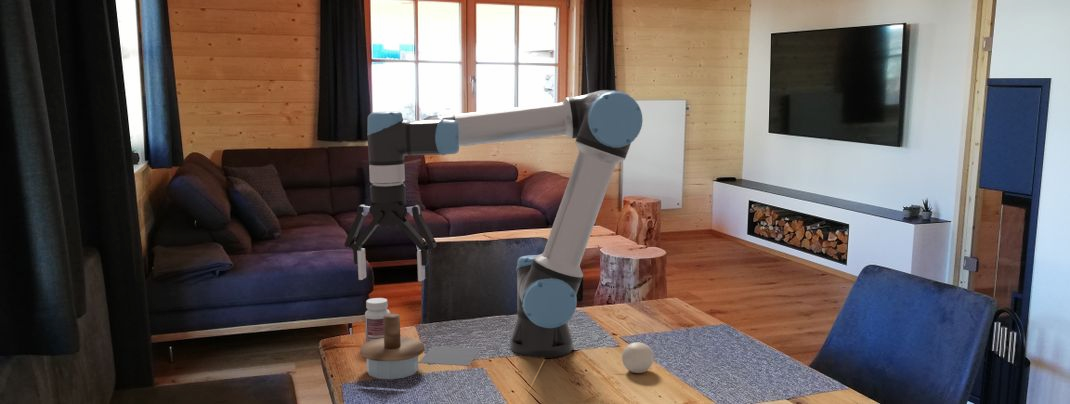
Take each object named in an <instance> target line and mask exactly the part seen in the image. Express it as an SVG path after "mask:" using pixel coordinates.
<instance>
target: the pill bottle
mask: <svg viewBox="0 0 1070 404" xmlns="http://www.w3.org/2000/svg"><path fill="white" fill-rule="evenodd" d="M388 303H389V302H388V298H384V297H375V298H374V297H372V298H368V299H367V300H366V301H365V305H366V306H365V308H366V309H367V310H366V311H365V313H364V326H365V327H364V329H365V330H364V331H365V334H364V336H365V343H366V342H369V341H372V340H375V339H380V338H384V321H383V316H384V315H387V314H391V312H390V310H389V309H387V308H388V307H389V304H388Z"/></svg>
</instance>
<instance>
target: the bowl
mask: <svg viewBox="0 0 1070 404" xmlns="http://www.w3.org/2000/svg"><path fill="white" fill-rule="evenodd" d="M418 362H419V356H417V357H414V358H411V359H407V360H401V361H374V360H370V359H367V358H366V372H367V374H368V376H370V377H373V378H375V379H379V380H397V379H398V380H399V379H405V378H408V377H411V376H414V375H415V374H416V373H417V372H418V371H419V363H418Z"/></svg>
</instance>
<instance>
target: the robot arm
mask: <svg viewBox="0 0 1070 404" xmlns="http://www.w3.org/2000/svg"><path fill="white" fill-rule="evenodd" d="M643 119H644V117H643V113H642V110H641V107H640V105H639V103H638V102H637V101H636V100H635V99H634V98H633V97H632V96H631V95H629V94H628V93H626V92H624V91H620V90H616V89H613V90H611V89H601V90H597V91H594V92H589V93H587V94H583V95H577V96H570V97H569V96H568V97H565V98H564V100H562V101H561V102H555V103H554V102H553V103H546V104H545V103H544V104H537V105H536V104H535V105H527V106H519V107H510V108H509V107H508V108H502V109H491V110H490V109H489V110H485V111H484V110H483V111H474V112H473V111H472V112H465V113H457V114H446V115H430V116H429V115H428V116H427V117H426V118H424V119H421V120H407V119H404V117H403V113H402V112H400V111H374V112H371V113H369V115H368V116H367V133H366V134H367V135H366V136H367V149H368V150H367V151H368V165H369V166H368V168H369V171H368V172H369V182H370V183H371V185H370V186H369V190H370V205H369V206H368V205H366V204H359V205H358V206H357V207H356V215H355V218H354V221H353V223H352V226H351V227H350V230H349V232H348V235H347V237H346V240H345V242H344V245H343V246H344V247H345V248H350V249H352V251H353V253H352V254H353V263H354V265H357V267H358V268H357V272H358V273H357V275H358V280H359V281H362V280H364V279H366V278H367V265H366V263H367V260H366V248H363V245H365V243H366V242H367V241H368V239H369V238H370V236H371V235H372V234H373V232H375V230H376V229H377V227H379V226H380V227H392V228H395V227H397V226H398V227H399V228H400V229H402V230H403V231H404V232H405V234H406V235H407V236H408V237H409V239H410V240H411V241H412V242H413V244H414V245H416V247H417V248H418V251H416V258H417V259H416V262H417V281H418V282H423V281H424V280H426V269H425V268H426V266H428V265H429V261H430V260H429V259H430V257H429V256H430V255H429V252H430V251H429V250H432V249H434V248H436V247H437V241H436V240H435V238H434V235H433V233H432V232H431V230H430V227H429V226H428V225H427V223H426V220H425V218H424V216H423V214H422V207H421V205H419V204H416V205H414V206H408V205H407V198H406V197H407V196H406V193H407V192H406V185H405V183H404V182H405V181H406V173H405V156H440V155H441V156H446V155H455V154H457V153H459V151H460V147H467V146H476V145H486V144H494V143H504V142H513V141H523V140H531V139H533V140H534V139H541V138H542V139H543V138H550V137H558V136H566V137H567V138H568V139H570V140H571V139H575V141H574V142H575V144H576V147H577V148H578V154H577V156H576V159H575V162H574V164H573V167H572V171H571V173H570V176H569V179H568V182H567V185H566V187H565V190H564V192H563V193H564V194H563V196H562V199H561V201H560V204H559V208H558V210H557V213H556V215H555V216H556V217H555V218H554V221H553V224H552V226H551V229H550V232H549V235H548V239H547V241H546V244H545V247H544V250H543V252H542V253H541V254H529V255H523V256H520V257H518V259H517V262H516V264H517V265H516V268H515V269H516V273H517V276H516V277H517V280H516V281H517V283H516V284H517V285H516V286H517V287H516V288H517V292H516V293H517V295H516V296H517V297H516V298H517V301H516V302H517V306H516V307H517V310H516V311H517V313H516V314H517V318H516V321H515V324H514V328H513V331H512V334H511V336H510V340H509V341H510V343H509V344H510V346H509V347H510V350H511V351H512V352H513V353H515V354H518V355H521V356H524V357H531V358H544V359H551V358H552V359H554V358H559V357H562V356H563V357H564V356H566V355H568V354H570V353H572V351H573V349H574V348H573V346H574V345H573V343H574V341H573V337H572V334H571V330H570V327H569V324H568V322H569V321H570V320H571V319H572V318H573V316H574V314H575V312H576V309H577V303H578V299H577V298H578V297H577V294H578V291H579V289H580V285H581V284H582V283H581V282H582V280H583V277H584V273H583V271H582V269H581V266H580V265H581V262H582V259H583V256H584V254H585V251H586V248H587V246H588V243H589V240H590V238H591V234H592V232H593V228H594V226H595V223H596V221H597V217H598V215H599V212H600V209H601V207H602V204H603V201H604V198H605V195H606V193H607V189H608V188H609V184H610V181H611V179H612V177H613V174H614V171H615V168H616V165H617V164H619V163H621V162H623V161H625V160H626V157H627V155H628V153H629V150H630V146H631V144H632V143H633V142H634V141H635V140H636V138H637V137H638V136H639V135H640V132H641V131H642V127H643V122H644V121H643ZM369 213H370V215H371V216H372V220H371V221H370V223H369V225H367V227H366V228H365V229H364V230H363V232H362V234H361V235H360V236H359V237H358V234H359V232H360V231H361V228H362V225H363V223H364V221H365V219H366V216H368V214H369ZM408 214H409V215H410V216H411V217H413V220H414V223H415V224H416V226H417V228H418V230H419V232H420V234H421V235H422V236H421V235H420V234H419V232H418V231H417V230H416V229H415V227H413V226H412V224H411V223H410V220H408V218H407V217H406V216H407V215H408ZM357 237H358V239H357V240H356V238H357Z"/></svg>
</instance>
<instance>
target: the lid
mask: <svg viewBox="0 0 1070 404" xmlns="http://www.w3.org/2000/svg"><path fill="white" fill-rule="evenodd" d="M383 321H384V338H380V339H375V340H372V341H369V342H366V341H365V343H363V344H362V345H361V346H360V349H359V350H360V351H359V352H360V355H361V356H362V357H363V358H365V359H366V360H367V359H370V360H374V361H401V360H407V359H411V358H414V357H417V356H418V357H419V356H420V355H422V354H423V353H424V352H425V344H424V342H423V341H421V340H420V339H417V338H413V337H409V336H408V337H404V336H401V315H400V314H397V313H390V314H387V315H384V316H383Z"/></svg>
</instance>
